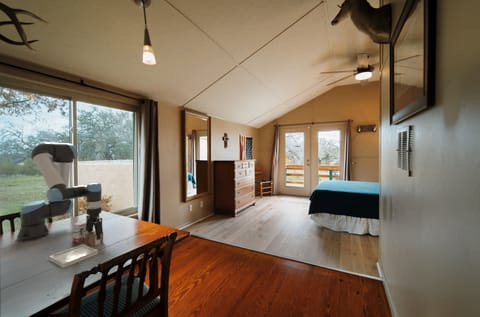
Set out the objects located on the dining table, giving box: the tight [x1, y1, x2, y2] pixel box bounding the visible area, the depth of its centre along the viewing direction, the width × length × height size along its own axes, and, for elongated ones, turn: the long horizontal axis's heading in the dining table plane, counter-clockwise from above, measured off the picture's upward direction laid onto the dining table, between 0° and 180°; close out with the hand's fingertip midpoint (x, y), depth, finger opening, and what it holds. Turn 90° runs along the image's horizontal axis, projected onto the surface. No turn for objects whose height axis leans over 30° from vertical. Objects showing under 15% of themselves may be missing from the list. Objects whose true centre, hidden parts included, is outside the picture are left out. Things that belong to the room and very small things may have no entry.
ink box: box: [72, 219, 88, 244], centre depth 131 cm, size 9×5×12 cm, turn 168°
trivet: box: [48, 243, 99, 269], centre depth 110 cm, size 16×16×2 cm
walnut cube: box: [84, 230, 104, 248], centre depth 126 cm, size 7×7×7 cm
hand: (94, 243), depth 126 cm, fingers closed on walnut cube, 7 cm apart
